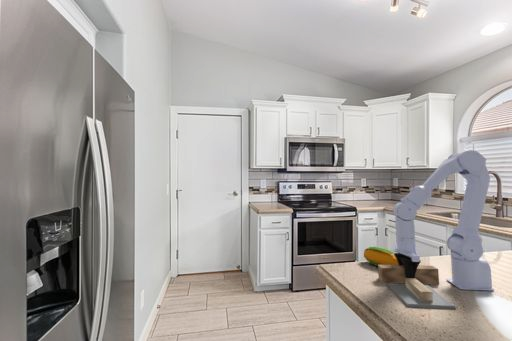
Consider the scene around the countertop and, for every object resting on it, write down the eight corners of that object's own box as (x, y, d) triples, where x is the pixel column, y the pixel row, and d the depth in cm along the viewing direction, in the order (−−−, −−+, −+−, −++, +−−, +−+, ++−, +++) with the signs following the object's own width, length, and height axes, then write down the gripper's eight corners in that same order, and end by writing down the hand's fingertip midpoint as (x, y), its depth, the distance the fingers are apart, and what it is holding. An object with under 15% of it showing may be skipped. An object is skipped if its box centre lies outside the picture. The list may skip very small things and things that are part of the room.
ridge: (416, 289, 80) (415, 278, 80) (433, 304, 70) (432, 291, 70) (405, 289, 80) (405, 278, 80) (421, 304, 70) (420, 291, 70)
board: (428, 287, 81) (427, 285, 81) (455, 309, 67) (455, 306, 67) (388, 286, 83) (388, 283, 83) (407, 306, 69) (407, 303, 69)
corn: (370, 242, 112) (415, 252, 94) (372, 259, 112) (417, 273, 94) (358, 245, 109) (402, 257, 91) (360, 262, 109) (404, 278, 90)
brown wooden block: (433, 280, 87) (432, 265, 87) (439, 284, 84) (438, 269, 84) (378, 278, 89) (378, 264, 90) (382, 282, 86) (381, 267, 86)
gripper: (385, 232, 95) (387, 269, 94) (402, 241, 81) (404, 284, 80) (405, 233, 94) (407, 269, 93) (425, 242, 80) (428, 285, 79)
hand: (407, 276), depth 87 cm, fingers closed on brown wooden block, 4 cm apart
